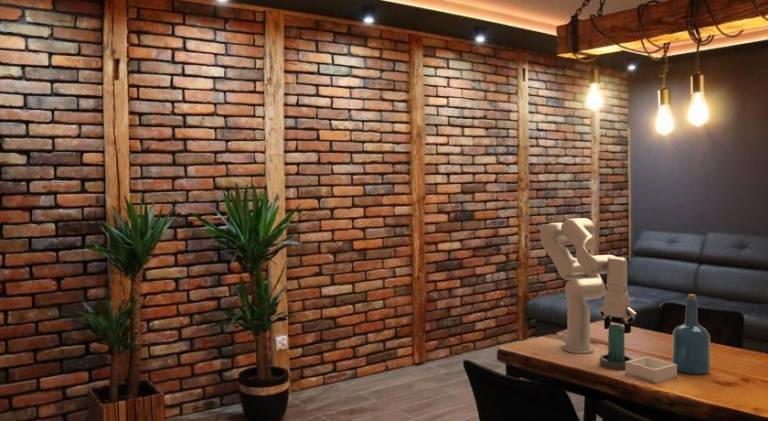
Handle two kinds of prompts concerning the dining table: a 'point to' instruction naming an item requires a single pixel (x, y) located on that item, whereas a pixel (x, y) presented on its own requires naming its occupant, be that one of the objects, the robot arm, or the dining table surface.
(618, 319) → the beverage bottle
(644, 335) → the dining table surface
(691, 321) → the wine bottle
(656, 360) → the bin
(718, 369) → the dining table surface
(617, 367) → the holder ring
